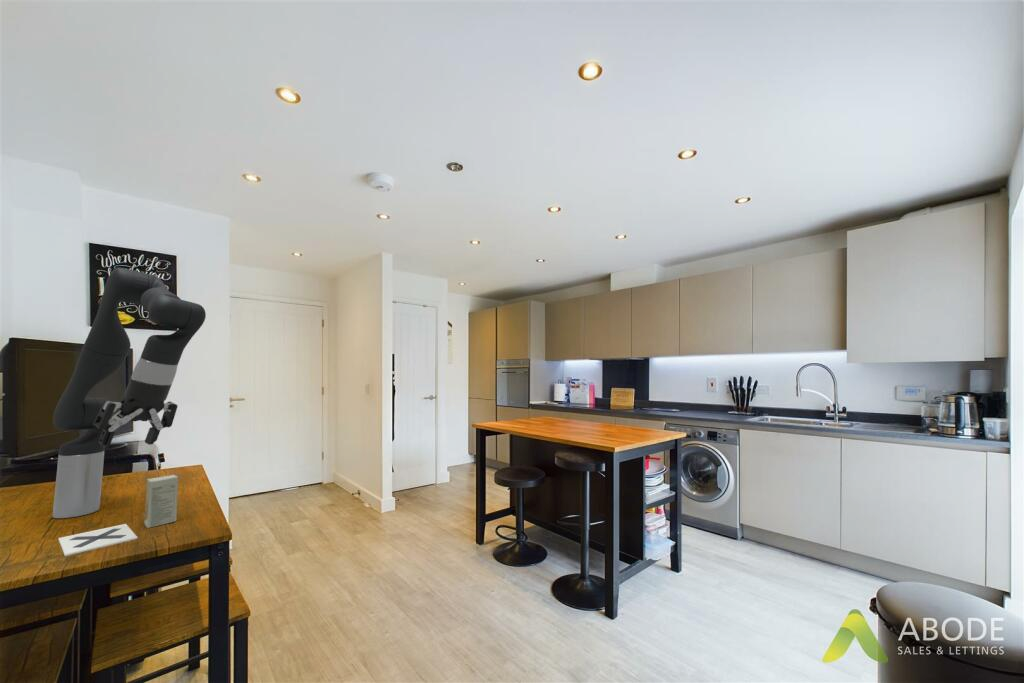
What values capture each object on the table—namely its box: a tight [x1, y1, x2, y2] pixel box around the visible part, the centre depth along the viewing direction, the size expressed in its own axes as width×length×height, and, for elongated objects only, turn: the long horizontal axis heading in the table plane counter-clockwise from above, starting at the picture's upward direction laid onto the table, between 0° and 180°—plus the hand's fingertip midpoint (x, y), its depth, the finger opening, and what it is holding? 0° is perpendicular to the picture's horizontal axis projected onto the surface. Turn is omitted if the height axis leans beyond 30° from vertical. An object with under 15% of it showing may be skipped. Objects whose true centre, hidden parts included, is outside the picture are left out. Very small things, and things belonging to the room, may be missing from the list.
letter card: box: [58, 523, 138, 557], centre depth 98 cm, size 14×12×1 cm
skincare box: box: [143, 474, 179, 529], centre depth 109 cm, size 6×4×12 cm
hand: (127, 444), depth 93 cm, fingers open, 8 cm apart
